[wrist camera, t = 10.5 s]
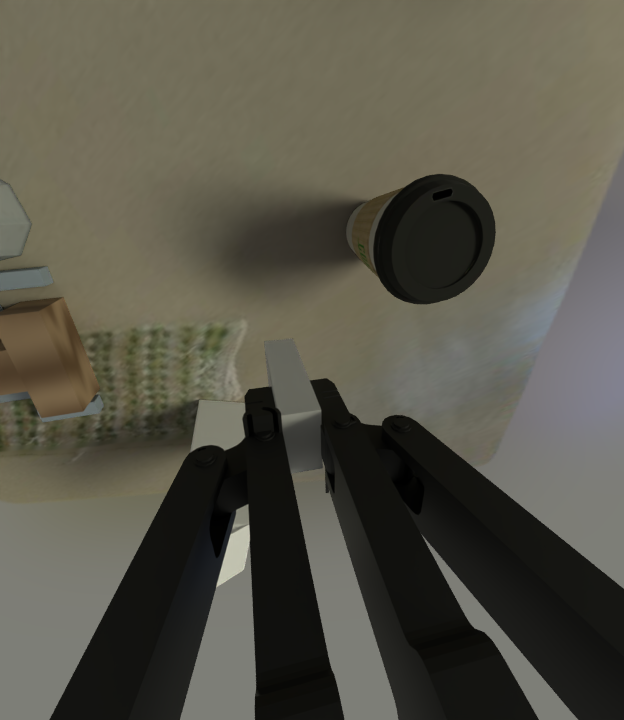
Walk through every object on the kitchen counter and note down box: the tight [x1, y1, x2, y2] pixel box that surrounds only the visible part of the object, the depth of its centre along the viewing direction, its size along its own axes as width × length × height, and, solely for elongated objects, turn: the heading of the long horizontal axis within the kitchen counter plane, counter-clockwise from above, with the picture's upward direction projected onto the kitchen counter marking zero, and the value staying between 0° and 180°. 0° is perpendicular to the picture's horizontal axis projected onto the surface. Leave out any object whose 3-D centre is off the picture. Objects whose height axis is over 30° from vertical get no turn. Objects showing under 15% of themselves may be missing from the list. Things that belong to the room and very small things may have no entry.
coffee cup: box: [346, 174, 496, 304], centre depth 32 cm, size 10×10×15 cm
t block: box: [0, 297, 100, 418], centre depth 34 cm, size 11×12×5 cm
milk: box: [190, 400, 250, 587], centre depth 35 cm, size 6×6×22 cm
